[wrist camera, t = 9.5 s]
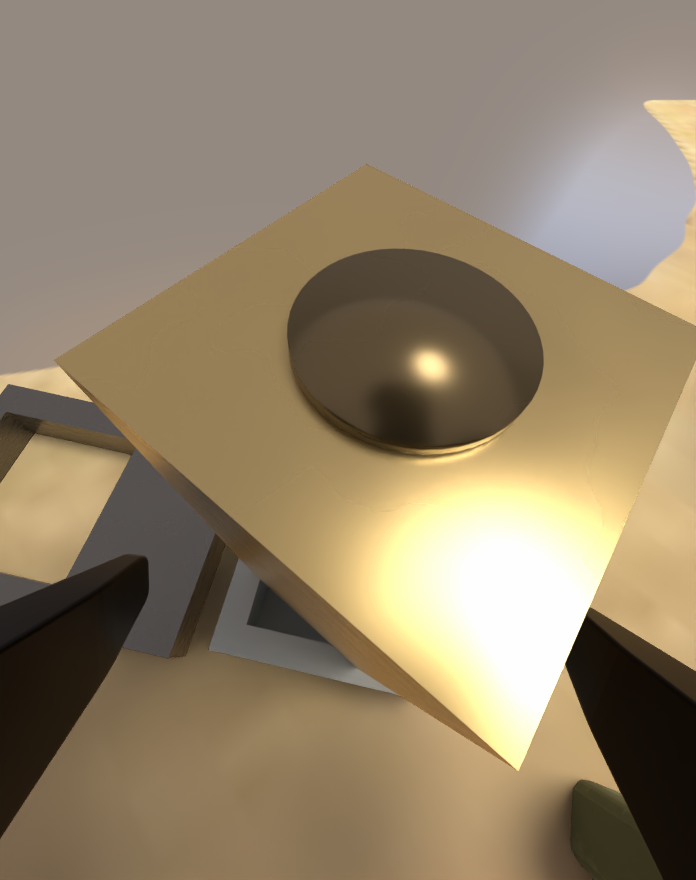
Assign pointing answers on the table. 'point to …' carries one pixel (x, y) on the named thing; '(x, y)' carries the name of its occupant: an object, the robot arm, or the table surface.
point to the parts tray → (277, 634)
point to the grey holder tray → (123, 521)
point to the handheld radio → (608, 836)
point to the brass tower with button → (405, 435)
